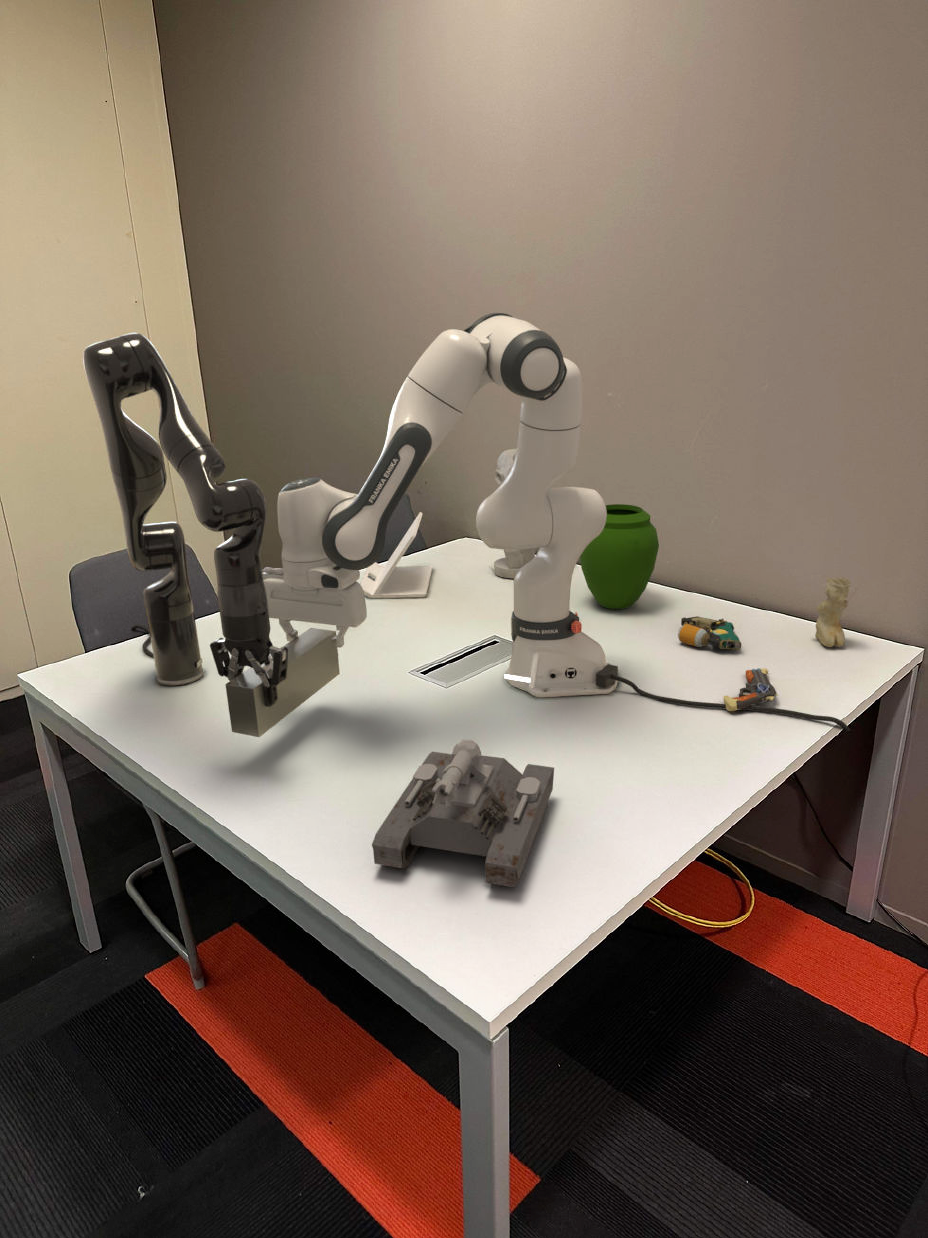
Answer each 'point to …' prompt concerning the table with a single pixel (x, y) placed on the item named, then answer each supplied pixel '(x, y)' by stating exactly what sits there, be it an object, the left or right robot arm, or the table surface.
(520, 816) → the toy
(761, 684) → the toy gun
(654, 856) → the table surface
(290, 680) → the bar
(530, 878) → the table surface
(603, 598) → the vase
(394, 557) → the tablet stand
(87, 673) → the table surface
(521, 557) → the bust sculpture
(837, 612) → the sculpture
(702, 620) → the spray gun
